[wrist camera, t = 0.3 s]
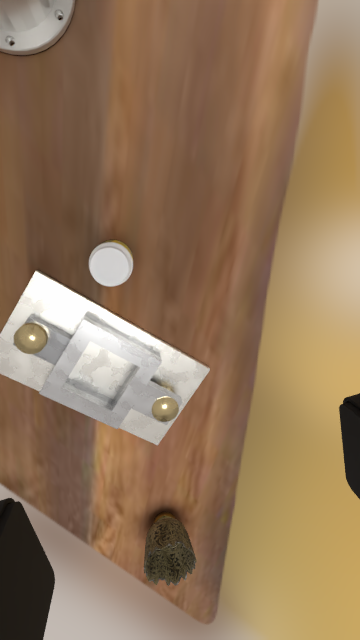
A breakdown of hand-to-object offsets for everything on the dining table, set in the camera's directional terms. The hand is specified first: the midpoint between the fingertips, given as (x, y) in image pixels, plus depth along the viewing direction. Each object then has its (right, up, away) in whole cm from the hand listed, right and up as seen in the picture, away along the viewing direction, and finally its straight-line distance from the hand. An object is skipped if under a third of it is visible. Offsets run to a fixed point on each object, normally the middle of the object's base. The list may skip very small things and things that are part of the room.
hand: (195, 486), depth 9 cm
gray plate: (-11, -1, +35) cm, 37 cm away
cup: (-3, -28, +44) cm, 52 cm away
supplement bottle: (-9, +12, +32) cm, 35 cm away
